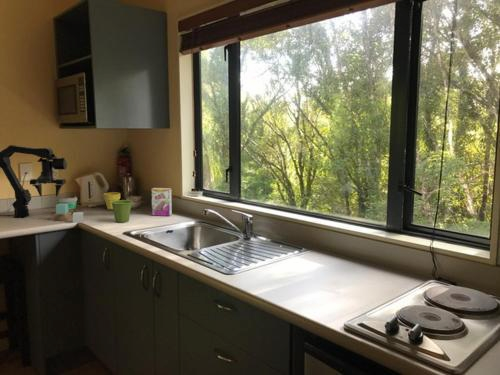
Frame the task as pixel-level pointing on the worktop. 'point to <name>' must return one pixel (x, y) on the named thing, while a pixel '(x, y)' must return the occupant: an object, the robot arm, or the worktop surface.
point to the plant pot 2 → (121, 210)
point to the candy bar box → (161, 201)
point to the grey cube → (78, 217)
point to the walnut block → (62, 217)
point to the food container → (69, 203)
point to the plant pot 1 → (111, 199)
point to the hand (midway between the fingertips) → (48, 196)
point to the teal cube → (61, 208)
